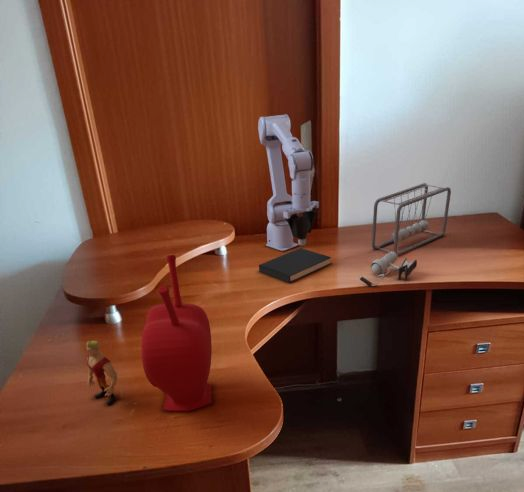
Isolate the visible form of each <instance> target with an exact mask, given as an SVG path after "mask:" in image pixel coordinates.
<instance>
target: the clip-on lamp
mask: <svg viewBox="0 0 524 492" xmlns="http://www.w3.org/2000/svg"><path fill="white" fill-rule="evenodd" d="M390 251H391V252H388V253H386V254H385V255H384V256H382V257H381V258H376V259H375V260H373V261H372V262H371V264H370V269H371V272H372V273H373V274H374V275H376V276H377V277H378V278H380V280H379V281H378V282H377V283H376V284H373V282H371V281H370V280H368V278H367V279H366V278H365V277H364V276H358V279H359V280H360V281H361V282H363V283H364V284H365V285H367V286H369V287H371V286H372V287H375V286H377V285H378V284H379V283H381V281H382V280H383V279H384V278H385V276H387V275H389V273H390V272H398V273H397V274H398V277H397V279H398V281H400V280H401V278H402V275H403V274H404V280H403V281H404V282H405V281H407V280H408V277H409V276H410V274H411V273H412V272H413V271H414V270H415V268H417V265H418V260H417V259H414V260H413V261H411V262H409V261H408V259H407V258H404V260H403V261H402V263H401V265H400V266H399V265H396V264H394V263H395V262H397V261H398V258H399V257H398V256H397V254H396V253H395V252H394V250H393V251H392V250H390ZM389 267H391V268H389ZM388 268H389V269H388Z"/></svg>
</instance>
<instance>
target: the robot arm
mask: <svg viewBox="0 0 524 492" xmlns="http://www.w3.org/2000/svg"><path fill="white" fill-rule="evenodd" d="M291 126H292V124H291V118H290V117H289V115H288V114H287V113H284V114H279V115H269V116H260V117H259V119H258V125H257V130H258V137H259V141H260V144H261V146H264V147H265V150H266V155H267V162H268V168H269V169H268V170H269V175H270V182H271V188H272V189H271V190H272V196H271V198H269V199H268V200H267V203H266V208H267V209H266V215H267V219H268V221H269V222H268V224H267V226H266V237H267V238H266V240H267V242H266V244H265V246H266V247H269V248H272V249H274V250H278V251H280V252H286V251H289V250H291V249H293V248H295V247H298V246H299V243H296V242H294V238H296V239H298V237H299V227H300V222H301V219H302V218H300V217H299V215H301V214H302V216H305V217H307V218H308V219H309V220H310V224H311V226H310V230H309V232H308V233H307V234H312V230H313V225H314V223H315V219H316V218H317V215H318V214H319V210H318V208H319V207H320V201H318V200H317V201H316V200H313V201H311V171H313V168H314V156H313V153H312V152H311V150H307V149H304V147H303V145H302V143H301V142H300V140H299V139H298V138H297V137H296V136H293V134H292V132H291V130H292V129H291V128H292V127H291ZM281 150H282V151H281ZM282 152H283V153H284V156H285V157H286V159H287V160H288V161H287V165H288V170H289V177H290V178H291V195H290V194H288V192H287V184H286V178H285V177H286V176H285V170H284V164H283V156H282Z"/></svg>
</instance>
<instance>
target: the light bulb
mask: <svg viewBox="0 0 524 492" xmlns="http://www.w3.org/2000/svg"><path fill="white" fill-rule="evenodd" d="M298 217H300V218H302V219H301V222H300V227H299V237H298V238H297V239H298V240H297V241H298V242H297V244H298V246H300V247H304V246H306V245H307V237H308V234H309V233H308V232H309V230H310V226H311V224H310V220H309V219H308V218H307V217H305V216H303V215H300V216H299V215H298Z"/></svg>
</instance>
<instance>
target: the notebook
mask: <svg viewBox="0 0 524 492" xmlns="http://www.w3.org/2000/svg"><path fill="white" fill-rule="evenodd" d="M331 259H332V257H331V256H330V255H329V256H328V255H325V254H322V253H319V252H316V251H312V250H309V249H305V248H302V247H299V248H296V249H294V250H292V251H290V252H287V253H284V254H282V255H279V256H277V257H275V258H273V259H270V260H267V261H265V262H263V263H260V264H258V272H259V273H261V274H263V275H266V276H268V277H272V278H273V279H277V280H279V281H281V282H282V281H283V282H285V283H288V284H291V283H294V282H296V281H298V280H300V279H303V278H305V277H306V276H309V275H311V274H313V273H315V272H317V271H319V270H321V269H324V268H326V267H328V266H330V265H332V263H331Z"/></svg>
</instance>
